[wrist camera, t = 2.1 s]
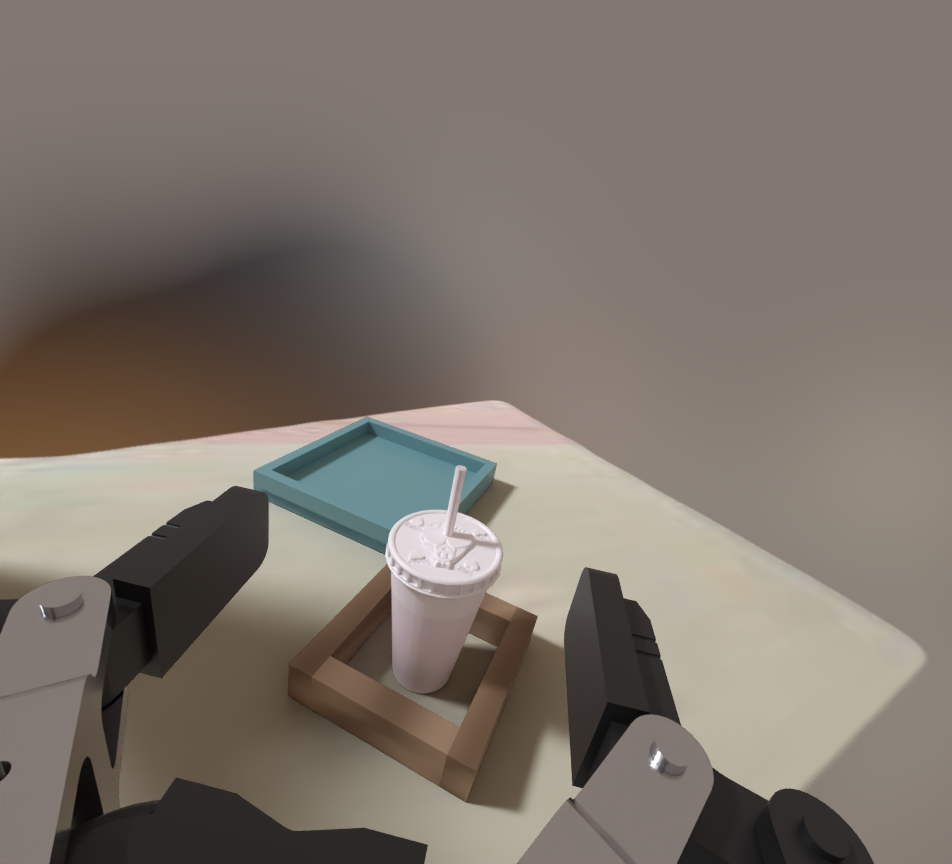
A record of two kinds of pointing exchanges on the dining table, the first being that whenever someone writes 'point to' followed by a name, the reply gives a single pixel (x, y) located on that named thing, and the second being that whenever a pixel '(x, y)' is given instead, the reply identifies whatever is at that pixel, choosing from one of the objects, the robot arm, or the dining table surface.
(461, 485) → the smoothie
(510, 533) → the dining table surface
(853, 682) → the dining table surface
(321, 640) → the collar
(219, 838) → the robot arm
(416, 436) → the tray
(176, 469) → the dining table surface
